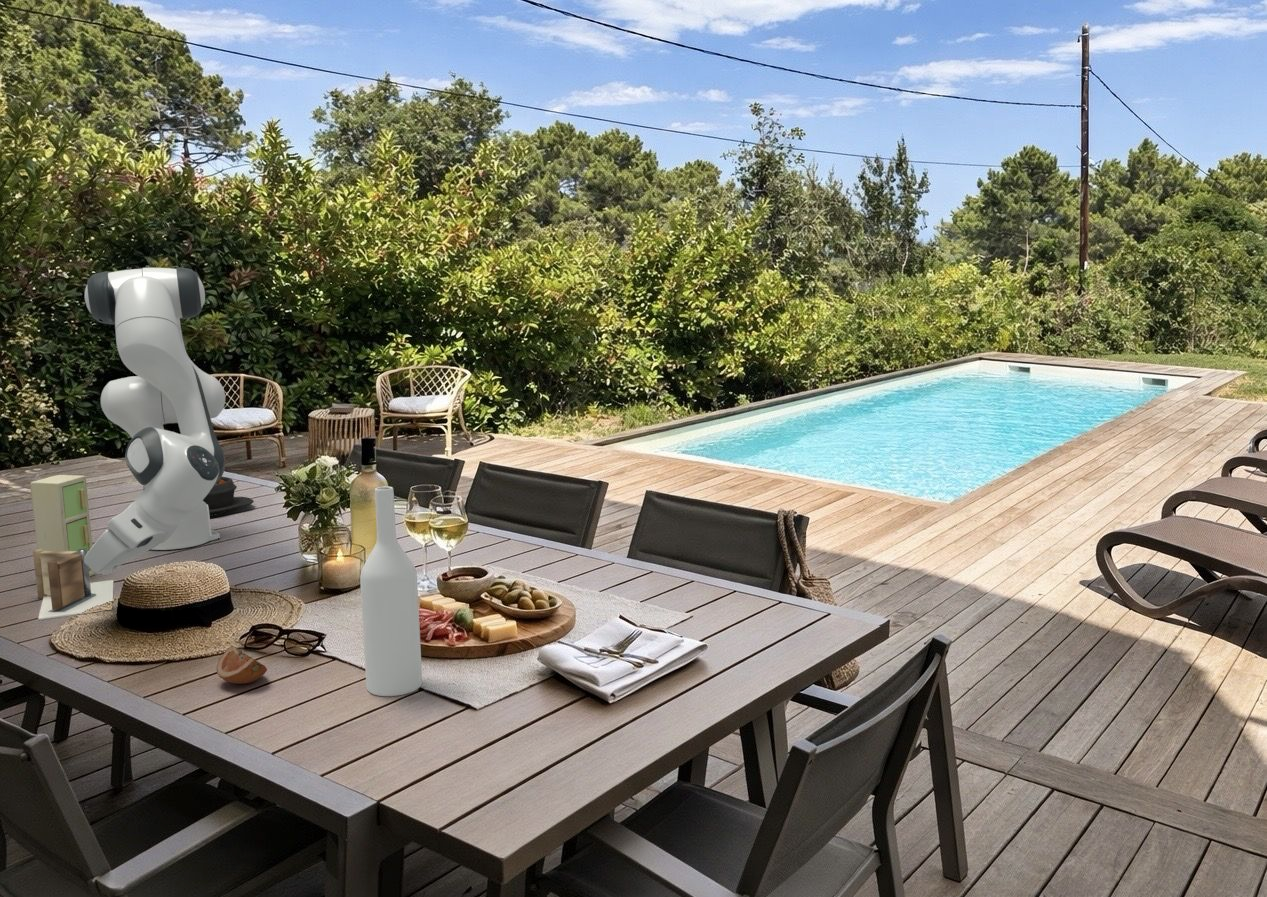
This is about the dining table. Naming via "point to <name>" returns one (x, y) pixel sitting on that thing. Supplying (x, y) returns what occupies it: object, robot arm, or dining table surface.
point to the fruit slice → (239, 667)
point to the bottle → (390, 609)
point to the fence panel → (66, 580)
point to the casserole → (224, 497)
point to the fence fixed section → (42, 569)
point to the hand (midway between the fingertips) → (105, 570)
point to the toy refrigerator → (61, 513)
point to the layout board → (79, 601)
